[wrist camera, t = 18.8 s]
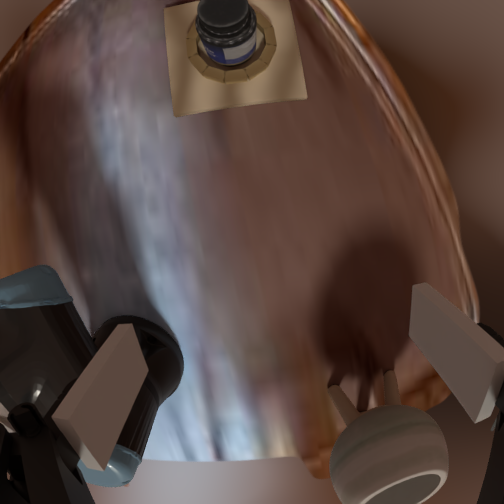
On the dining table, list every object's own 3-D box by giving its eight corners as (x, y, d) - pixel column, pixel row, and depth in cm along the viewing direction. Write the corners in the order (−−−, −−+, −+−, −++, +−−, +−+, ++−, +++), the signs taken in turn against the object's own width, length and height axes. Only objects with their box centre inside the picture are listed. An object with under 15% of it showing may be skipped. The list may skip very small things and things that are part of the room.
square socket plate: (176, 117, 36) (170, 113, 33) (166, 12, 31) (160, 2, 28) (305, 99, 35) (309, 94, 32) (285, -6, 30) (287, -16, 28)
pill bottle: (198, 37, 31) (179, -3, 21) (244, 19, 31) (240, -26, 20) (217, 75, 33) (203, 43, 22) (264, 57, 32) (268, 19, 22)
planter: (362, 432, 50) (393, 526, 28) (295, 408, 48) (311, 522, 26) (421, 372, 46) (479, 463, 24) (357, 339, 44) (414, 452, 22)
